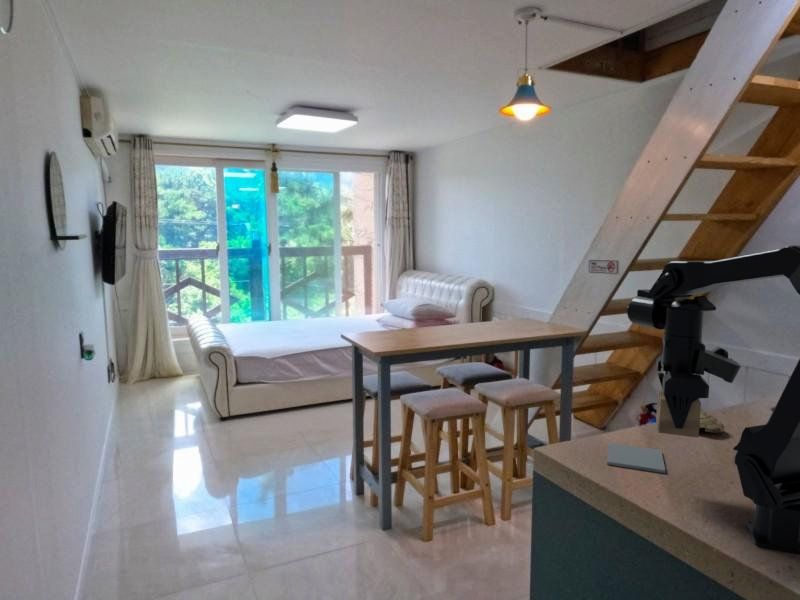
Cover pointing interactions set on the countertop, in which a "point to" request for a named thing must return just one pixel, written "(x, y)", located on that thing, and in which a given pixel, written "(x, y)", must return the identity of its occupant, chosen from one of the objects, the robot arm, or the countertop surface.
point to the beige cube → (666, 421)
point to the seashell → (710, 423)
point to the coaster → (635, 457)
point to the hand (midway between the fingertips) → (676, 422)
